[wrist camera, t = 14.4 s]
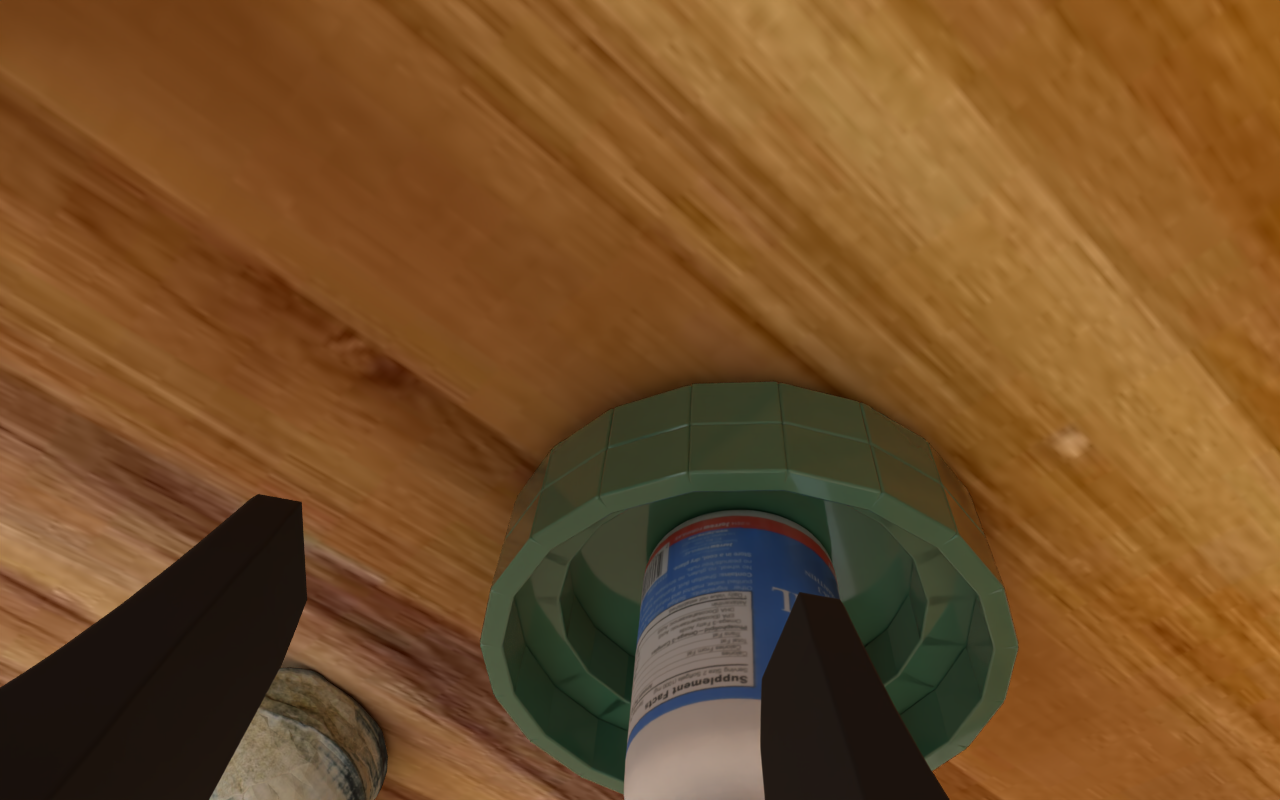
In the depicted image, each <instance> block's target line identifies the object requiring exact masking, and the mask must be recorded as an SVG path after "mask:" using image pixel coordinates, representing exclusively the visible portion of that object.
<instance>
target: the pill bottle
mask: <svg viewBox="0 0 1280 800" xmlns="http://www.w3.org/2000/svg"><path fill="white" fill-rule="evenodd" d="M799 592H802V593H808V594H814V595H819V596H825V597H830V598H836V599H840V596H839V589H838V583H837V579H836V575H835V571H834V567H833V564H832V561H831V559H830V557H829V555H828V553H827V551H826V550H825V548H824V547H823V546H822V544H821V543H820V542H819V541H818V540H817V539H816V538H815V537H814V536H813V535H812V534H811V533H810V532H809V531H808V530H806V529H805V528H803V527H802V526H800V525H798V524H797V523H795V522H792V521H790V520H788V519H786V518H783V517H781V516H778V515H774V514H770V513H766V512H760V511H753V510H727V511H718V512H713V513H708V514H704V515H701V516H698V517H695V518H693V519H690V520H688V521H686V522H684V523H682V524H680V525H679V526H677V527H676V528H674V529H673V530H672V531H670V532H669V533H668V534H667V535H666V536H664V538H663V539H662V540H661V541H660V542H659V543H658V545H657V546H656V548H655V549H654V551H653V552H652V554H651V556H650V559H649V561H648V564H647V566H646V570H645V575H644V581H643V589H642V598H641V606H640V618H639V628H638V637H637V647H636V654H635V667H634V677H633V687H632V698H631V709H630V719H629V729H628V739H627V751H626V759H625V777H624V800H765V796H764V785H763V774H762V763H761V751H760V718H761V684H762V677H763V675H764V672H765V670H766V668H767V665H768V663H769V661H770V658H771V656H772V654H773V651H774V649H775V647H776V644H777V642H778V640H779V638H780V635H781V633H782V631H783V628H784V626H785V624H786V621H787V619H788V617H789V614H790V612H791V610H792V607H793V605H794V603H795V600H796V598H797V596H798V594H799Z"/></svg>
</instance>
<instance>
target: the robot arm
mask: <svg viewBox="0 0 1280 800" xmlns="http://www.w3.org/2000/svg"><path fill="white" fill-rule="evenodd" d="M306 601H307V590H306V572H305V554H304V536H303V518H302V502H299V501H293V500H288V499H282V498H277V497H271V496H266V495H260V494H258V495H256V496H254V497H253V498H251V499H250V500H249V501H247V502H246V503H245V504H244V505H243V506H242V507H240V508H239V509H238V510H237V511H236V512H235V513H233V514H232V515H231V516H230V517H229V518H227V519H226V520H225V521H224V522H223V523H222V524H220V525H219V526H218V527H217V528H216V529H215V530H213V531H212V532H211V533H210V534H209V535H207V536H206V537H205V538H204V539H203V540H201V541H200V542H199V543H198V544H197V545H195V546H194V547H193V548H192V549H191V550H189V551H188V552H187V553H186V554H184V555H183V556H182V557H181V558H180V559H178V560H177V561H176V562H175V563H173V564H172V565H171V566H170V567H168V568H167V569H166V570H165V571H163V572H162V573H161V574H159V575H158V576H157V577H156V578H154V579H153V580H152V581H151V582H149V583H148V584H147V585H145V586H144V587H143V588H142V589H140V590H139V591H138V592H137V593H135V594H134V595H133V596H131V597H130V598H129V599H128V600H126V601H125V602H124V603H122V604H121V605H120V606H118V607H117V608H116V609H114V610H113V611H112V612H110V613H109V614H107V615H106V616H105V617H103V618H102V619H100V620H99V621H98V622H96V623H95V624H93V625H92V626H91V627H89V628H88V629H86V630H85V631H84V632H82V633H81V634H79V635H78V636H77V637H75V638H74V639H73V640H71V641H70V642H68V643H67V644H66V645H64V646H63V647H61V648H60V649H58V650H57V651H56V652H54V653H53V654H51V655H50V656H48V657H47V658H45V659H44V660H42V661H41V662H39V663H38V664H36V665H35V666H33V667H32V668H30V669H29V670H27V671H26V672H24V673H23V674H21V675H19V676H18V677H16V678H15V679H13V680H12V681H10V682H8V683H7V684H5V685H4V686H2V687H0V800H209V799H210V797H211V795H212V794H213V792H214V790H215V788H216V786H217V784H218V782H219V781H220V779H221V777H222V775H223V773H224V771H225V770H226V768H227V766H228V764H229V762H230V760H231V758H232V757H233V755H234V753H235V751H236V749H237V747H238V745H239V744H240V742H241V740H242V738H243V736H244V734H245V733H246V731H247V729H248V727H249V725H250V723H251V721H252V720H253V718H254V716H255V714H256V712H257V710H258V708H259V707H260V705H261V703H262V701H263V699H264V697H265V695H266V693H267V692H268V690H269V688H270V686H271V684H272V682H273V680H274V678H275V676H276V674H277V673H278V671H279V669H280V667H281V665H282V662H283V660H284V657H285V655H286V652H287V650H288V647H289V645H290V642H291V640H292V638H293V635H294V632H295V630H296V627H297V625H298V622H299V619H300V617H301V614H302V611H303V609H304V606H305V604H306ZM760 751H761V763H762V774H763V785H764V796H765V800H949V798H948V796H947V795H946V793H945V792H944V790H943V788H942V787H941V785H940V783H939V782H938V780H937V779H936V777H935V775H934V774H933V772H932V771H931V769H930V767H929V765H928V764H927V762H926V760H925V759H924V757H923V755H922V754H921V752H920V750H919V749H918V747H917V745H916V743H915V741H914V740H913V738H912V736H911V734H910V732H909V731H908V729H907V727H906V725H905V723H904V722H903V720H902V718H901V716H900V715H899V713H898V711H897V709H896V707H895V706H894V704H893V702H892V700H891V698H890V696H889V694H888V692H887V690H886V689H885V687H884V685H883V683H882V681H881V679H880V677H879V675H878V673H877V671H876V669H875V667H874V665H873V663H872V661H871V659H870V657H869V655H868V653H867V651H866V649H865V647H864V645H863V643H862V641H861V639H860V637H859V635H858V633H857V631H856V629H855V627H854V625H853V623H852V621H851V618H850V616H849V614H848V612H847V610H846V608H845V606H844V605H843V603H842V602H841V600H840V599H836V598H830V597H825V596H819V595H814V594H808V593H802V592H799V594H798V596H797V598H796V600H795V603H794V605H793V607H792V610H791V612H790V614H789V617H788V619H787V621H786V624H785V626H784V628H783V631H782V633H781V635H780V638H779V640H778V642H777V644H776V647H775V649H774V651H773V654H772V656H771V658H770V661H769V663H768V665H767V668H766V670H765V672H764V675H763V677H762V684H761V718H760Z"/></svg>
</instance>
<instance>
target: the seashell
mask: <svg viewBox="0 0 1280 800" xmlns="http://www.w3.org/2000/svg"><path fill="white" fill-rule="evenodd" d="M387 762H388V755H387V749H386V745H385V740H384V736H383V732H382V730H381V729H380V727H379V726H378V724H377V723H376V722H375V721H374V720H373V719H372V718H371V717H370V715H369V714H368V713H367V712H366V711H365V710H364V709H363V708H362V707H361V706H360V705H359V704H358V703H357V702H356V701H355V700H354V699H353V698H351V697H350V696H348V695H347V694H346V693H344V692H343V691H341V690H340V689H338V688H337V687H335V686H334V685H332V684H331V683H329V682H328V681H327V680H326V679H325V678H324V677H323V676H322V675H320V674H318V673H316V672H314V671H310V670H306V669H300V668H280V669H279V671H278V673H277V674H276V676H275V678H274V680H273V682H272V684H271V686H270V688H269V690H268V692H267V693H266V695H265V697H264V699H263V701H262V703H261V705H260V707H259V708H258V710H257V712H256V714H255V716H254V718H253V720H252V721H251V723H250V725H249V727H248V729H247V731H246V733H245V734H244V736H243V738H242V740H241V742H240V744H239V745H238V747H237V749H236V751H235V753H234V755H233V757H232V758H231V760H230V762H229V764H228V766H227V768H226V770H225V771H224V773H223V775H222V777H221V779H220V781H219V782H218V784H217V786H216V788H215V790H214V792H213V794H212V795H211V797H210V799H209V800H374V799H375V798H376V796H377V795H378V793H379V791H380V789H381V787H382V785H383V782H384V779H385V775H386V772H387Z"/></svg>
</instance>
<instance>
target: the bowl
mask: <svg viewBox="0 0 1280 800" xmlns="http://www.w3.org/2000/svg"><path fill="white" fill-rule="evenodd" d="M727 510H753V511H760V512H766V513H770V514H774V515H778V516H781V517H783V518H786V519H788V520H790V521H792V522H795V523H797V524H798V525H800V526H802V527H803V528H805V529H806V530H808V531H809V532H810V533H811V534H812V535H813V536H814V537H815V538H816V539H817V540H818V541H819V542H820V543H821V544H822V546H823V547H824V548H825V550H826V551H827V553H828V555H829V557H830V559H831V561H832V564H833V567H834V571H835V575H836V579H837V583H838V589H839V596H840V600H841V602H842V603H843V605H844V606H845V608H846V610H847V612H848V614H849V616H850V618H851V621H852V623H853V625H854V627H855V629H856V631H857V633H858V635H859V637H860V639H861V641H862V643H863V645H864V647H865V649H866V651H867V653H868V655H869V657H870V659H871V661H872V663H873V665H874V667H875V669H876V671H877V673H878V675H879V677H880V679H881V681H882V683H883V685H884V687H885V689H886V690H887V692H888V694H889V696H890V698H891V700H892V702H893V704H894V706H895V707H896V709H897V711H898V713H899V715H900V716H901V718H902V720H903V722H904V723H905V725H906V727H907V729H908V731H909V732H910V734H911V736H912V738H913V740H914V741H915V743H916V745H917V747H918V749H919V750H920V752H921V754H922V755H923V757H924V759H925V760H926V762H927V764H928V765H929V767H930V769H931V771H933V770H935V769H936V768H938V767H939V766H941V765H942V764H944V763H945V762H947V761H948V760H950V759H952V758H953V757H955V756H956V755H958V754H959V753H961V752H962V751H964V750H965V749H966V748H967V747H968V746H969V745H970V744H971V743H972V742H973V740H974V739H975V738H976V737H977V735H978V734H979V733H980V732H981V730H982V729H983V728H984V727H985V725H986V724H987V723H988V722H989V720H990V719H991V718H992V717H993V715H994V714H995V713H996V712H997V710H998V709H999V708H1000V707H1001V705H1002V704H1003V703H1004V700H1005V699H1006V695H1007V691H1008V687H1009V683H1010V679H1011V675H1012V671H1013V668H1014V664H1015V660H1016V656H1017V652H1018V648H1019V646H1018V639H1017V635H1016V631H1015V627H1014V623H1013V619H1012V615H1011V611H1010V607H1009V603H1008V599H1007V595H1006V591H1005V588H1004V585H1003V582H1002V580H1001V577H1000V574H999V572H998V569H997V566H996V563H995V561H994V558H993V555H992V553H991V550H990V547H989V545H988V542H987V540H986V537H985V534H984V531H983V528H982V526H981V523H980V520H979V518H978V515H977V512H976V510H975V507H974V504H973V501H972V499H971V496H970V494H969V492H968V490H967V489H966V488H965V486H964V485H963V484H962V483H961V482H960V480H959V479H958V478H957V477H956V475H955V474H954V473H953V472H952V471H951V469H950V468H949V467H948V466H947V464H946V463H945V462H944V461H943V459H942V458H941V457H940V456H939V455H938V453H937V452H936V451H935V450H934V448H933V447H932V446H931V445H930V444H929V443H928V442H927V441H926V440H925V439H924V438H922V437H920V436H919V435H917V434H915V433H914V432H912V431H910V430H908V429H907V428H905V427H903V426H902V425H900V424H898V423H897V422H895V421H893V420H891V419H890V418H888V417H886V416H885V415H883V414H881V413H880V412H878V411H876V410H874V409H873V408H871V407H869V406H868V405H866V404H864V403H863V402H860V403H859V402H858V401H856V400H851V399H847V398H843V397H839V396H835V395H831V394H827V393H823V392H818V391H814V390H810V389H806V388H802V387H798V386H794V385H790V384H785V383H779V384H778V382H776V381H768V382H731V383H694V384H692V385H691V386H690V385H687V386H684V387H680V388H677V389H674V390H670V391H667V392H664V393H660V394H657V395H654V396H650V397H647V398H644V399H640V400H637V401H634V402H631V403H627V404H624V405H621V406H617V407H615V408H614V409H613V408H612V409H610V410H608V411H607V412H605V413H604V414H602V415H601V416H599V417H598V418H596V419H595V420H593V421H592V422H590V423H589V424H587V425H586V426H584V427H583V428H581V429H580V430H578V431H577V432H575V433H574V434H572V435H571V436H569V437H568V438H566V439H565V440H563V441H562V442H560V443H559V444H558V445H556V446H555V447H554V448H553V449H551V450H550V452H549V453H548V455H547V456H546V457H545V459H544V460H543V462H542V463H541V464H540V466H539V467H538V468H537V470H536V471H535V473H534V474H533V475H532V477H531V478H530V480H529V481H528V482H527V484H526V485H525V487H524V488H523V489H522V491H521V492H520V493H519V495H518V496H517V499H516V501H515V504H514V508H513V511H512V515H511V518H510V522H509V525H508V529H507V533H506V536H505V540H504V544H503V547H502V550H501V554H500V557H499V561H498V564H497V568H496V571H495V575H494V578H493V582H492V586H491V589H490V594H489V599H488V603H487V608H486V613H485V618H484V623H483V628H482V633H481V638H480V647H481V650H482V654H483V657H484V661H485V665H486V668H487V672H488V676H489V679H490V683H491V686H492V690H493V694H494V695H495V698H496V699H497V700H498V702H499V703H500V704H501V706H502V707H503V708H504V709H505V711H506V712H507V713H508V715H509V716H510V717H511V718H512V720H513V721H514V722H515V724H516V725H517V726H518V727H519V729H520V730H521V731H522V733H523V734H524V735H525V736H526V738H527V739H528V740H530V742H531V743H533V744H534V745H535V746H537V747H538V748H540V749H541V750H543V751H544V752H545V753H547V754H548V755H550V756H551V757H552V758H554V759H555V760H557V761H558V762H560V763H561V764H562V765H564V766H565V767H567V768H568V769H569V770H571V771H572V772H574V773H575V774H577V775H579V776H580V777H581V778H584V779H586V780H589V781H591V782H594V783H596V784H599V785H601V786H603V787H606V788H608V789H611V790H613V791H616V792H618V793H621V794H623V795H624V777H625V759H626V751H627V739H628V729H629V719H630V709H631V698H632V687H633V677H634V667H635V654H636V647H637V637H638V628H639V618H640V606H641V598H642V589H643V581H644V575H645V570H646V566H647V564H648V561H649V559H650V556H651V554H652V552H653V551H654V549H655V548H656V546H657V545H658V543H659V542H660V541H661V540H662V539H663V538H664V536H666V535H667V534H668V533H669V532H670V531H672V530H673V529H674V528H676V527H677V526H679V525H680V524H682V523H684V522H686V521H688V520H690V519H693V518H695V517H698V516H701V515H704V514H708V513H713V512H718V511H727Z"/></svg>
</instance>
